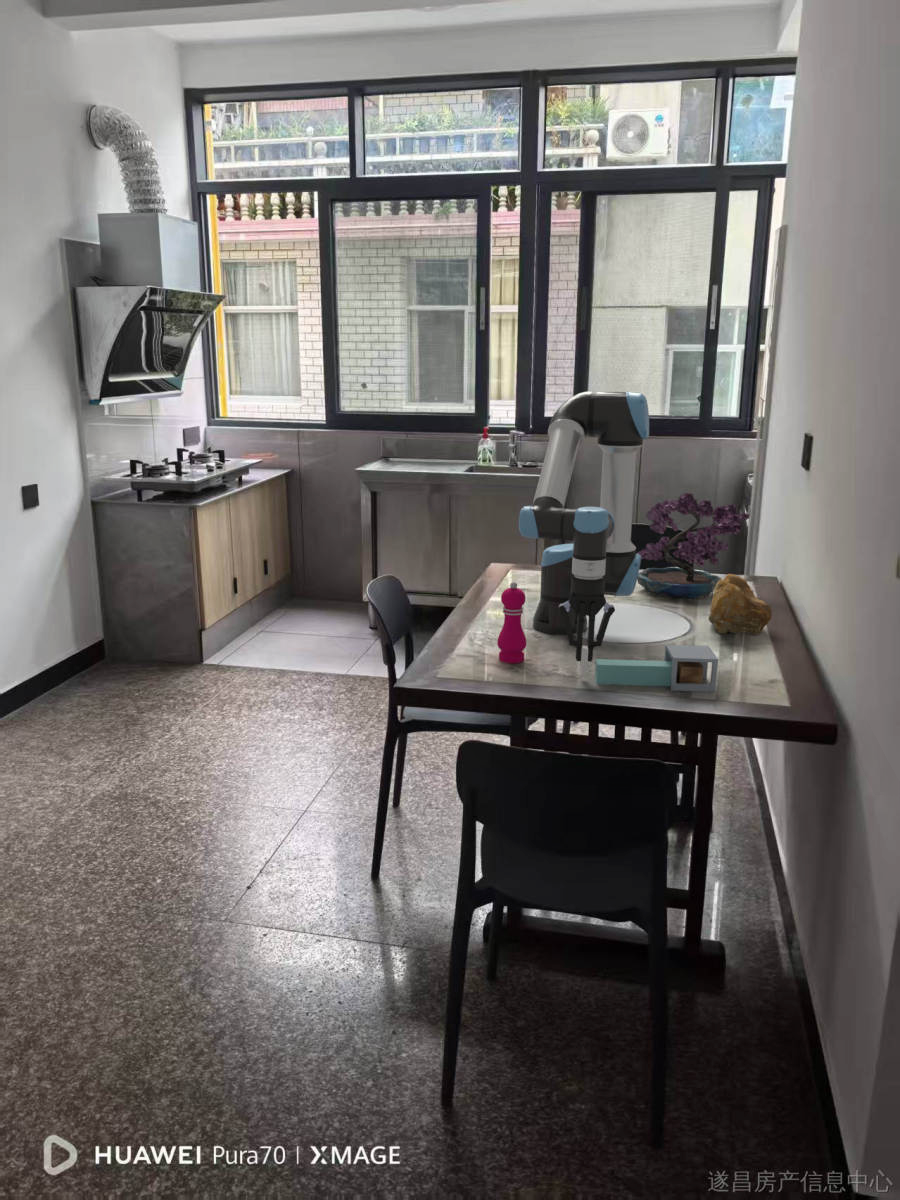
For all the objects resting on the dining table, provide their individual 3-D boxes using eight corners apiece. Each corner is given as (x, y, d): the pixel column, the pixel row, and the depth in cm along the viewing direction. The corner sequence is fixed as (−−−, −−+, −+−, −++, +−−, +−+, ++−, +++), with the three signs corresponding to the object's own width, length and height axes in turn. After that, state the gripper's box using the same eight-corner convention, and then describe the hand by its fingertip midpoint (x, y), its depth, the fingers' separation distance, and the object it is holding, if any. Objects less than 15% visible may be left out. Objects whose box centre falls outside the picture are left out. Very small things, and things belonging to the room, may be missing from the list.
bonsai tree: (634, 600, 286) (641, 497, 278) (630, 580, 312) (636, 485, 304) (750, 605, 282) (760, 500, 273) (735, 584, 308) (744, 488, 299)
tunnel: (670, 690, 208) (673, 657, 206) (663, 675, 218) (665, 644, 216) (715, 691, 208) (718, 659, 206) (705, 676, 217) (708, 645, 215)
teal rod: (596, 685, 212) (597, 664, 210) (594, 679, 216) (595, 659, 214) (674, 687, 211) (676, 666, 210) (671, 681, 215) (673, 661, 214)
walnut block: (679, 687, 210) (681, 666, 209) (675, 680, 215) (677, 660, 214) (701, 688, 210) (703, 667, 209) (697, 680, 215) (698, 660, 214)
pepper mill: (530, 663, 226) (533, 584, 221) (502, 665, 224) (504, 586, 219) (519, 654, 232) (522, 577, 227) (492, 656, 230) (494, 579, 225)
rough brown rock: (762, 648, 243) (773, 594, 239) (700, 634, 249) (710, 582, 245) (771, 628, 263) (781, 578, 259) (713, 616, 269) (722, 568, 266)
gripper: (560, 578, 204) (556, 678, 210) (619, 580, 203) (613, 680, 209) (558, 571, 211) (554, 668, 217) (615, 572, 211) (609, 669, 217)
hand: (583, 674), depth 213 cm, fingers closed
